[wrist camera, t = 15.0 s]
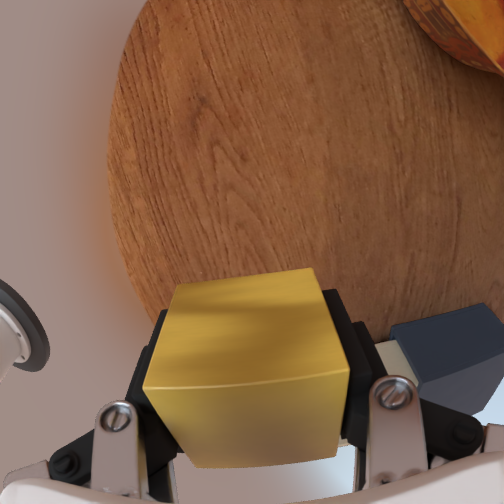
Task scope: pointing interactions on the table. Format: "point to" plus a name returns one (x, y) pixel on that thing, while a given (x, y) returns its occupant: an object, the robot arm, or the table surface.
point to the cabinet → (455, 356)
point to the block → (250, 371)
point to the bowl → (464, 29)
